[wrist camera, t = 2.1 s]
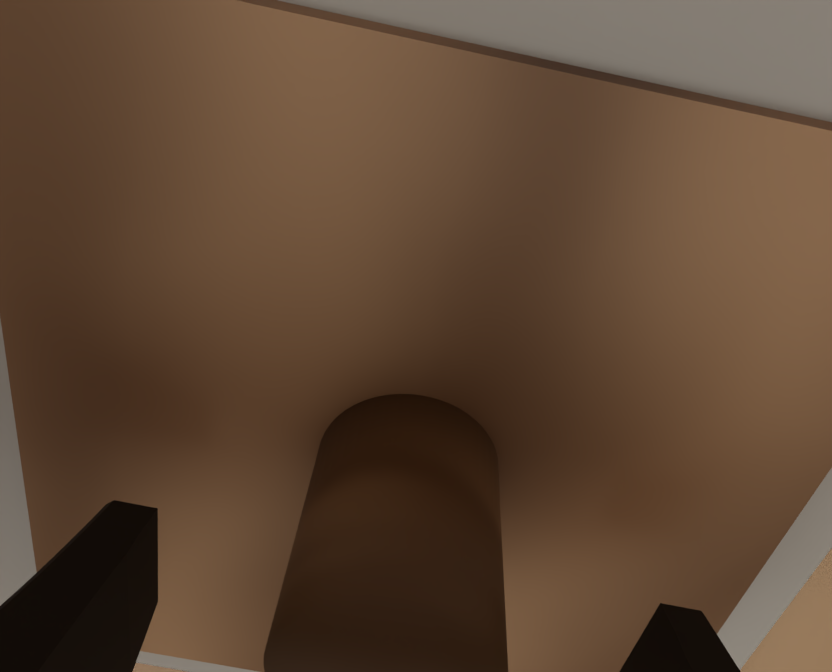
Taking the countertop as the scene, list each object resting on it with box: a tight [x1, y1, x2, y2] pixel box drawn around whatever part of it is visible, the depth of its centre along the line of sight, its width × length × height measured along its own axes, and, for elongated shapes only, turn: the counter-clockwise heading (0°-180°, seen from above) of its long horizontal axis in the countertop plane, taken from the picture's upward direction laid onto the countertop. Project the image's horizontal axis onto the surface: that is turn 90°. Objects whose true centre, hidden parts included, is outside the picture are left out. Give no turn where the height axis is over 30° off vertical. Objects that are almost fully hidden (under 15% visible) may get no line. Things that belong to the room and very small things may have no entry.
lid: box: [0, 0, 832, 672], centre depth 11 cm, size 14×14×5 cm
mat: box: [0, 0, 832, 672], centre depth 13 cm, size 17×17×1 cm
